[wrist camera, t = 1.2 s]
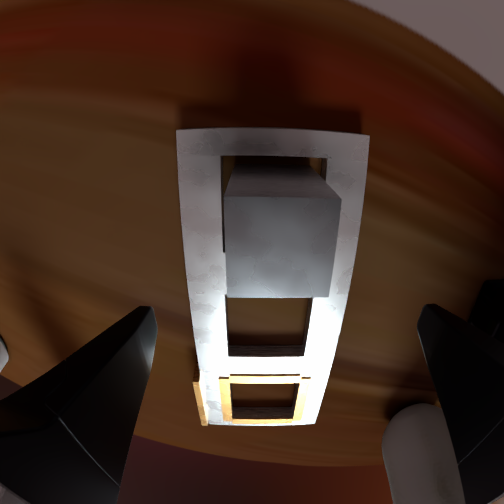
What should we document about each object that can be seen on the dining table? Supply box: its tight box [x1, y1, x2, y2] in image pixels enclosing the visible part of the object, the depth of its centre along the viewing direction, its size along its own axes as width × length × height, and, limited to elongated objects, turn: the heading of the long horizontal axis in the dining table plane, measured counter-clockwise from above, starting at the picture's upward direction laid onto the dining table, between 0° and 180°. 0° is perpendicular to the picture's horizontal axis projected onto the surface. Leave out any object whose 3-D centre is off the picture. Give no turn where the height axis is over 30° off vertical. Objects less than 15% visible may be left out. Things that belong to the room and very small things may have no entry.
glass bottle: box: [382, 403, 465, 504], centre depth 21 cm, size 10×10×28 cm
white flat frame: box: [176, 127, 370, 426], centre depth 24 cm, size 13×30×2 cm, turn 0°
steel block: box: [224, 164, 342, 298], centre depth 17 cm, size 5×5×8 cm
